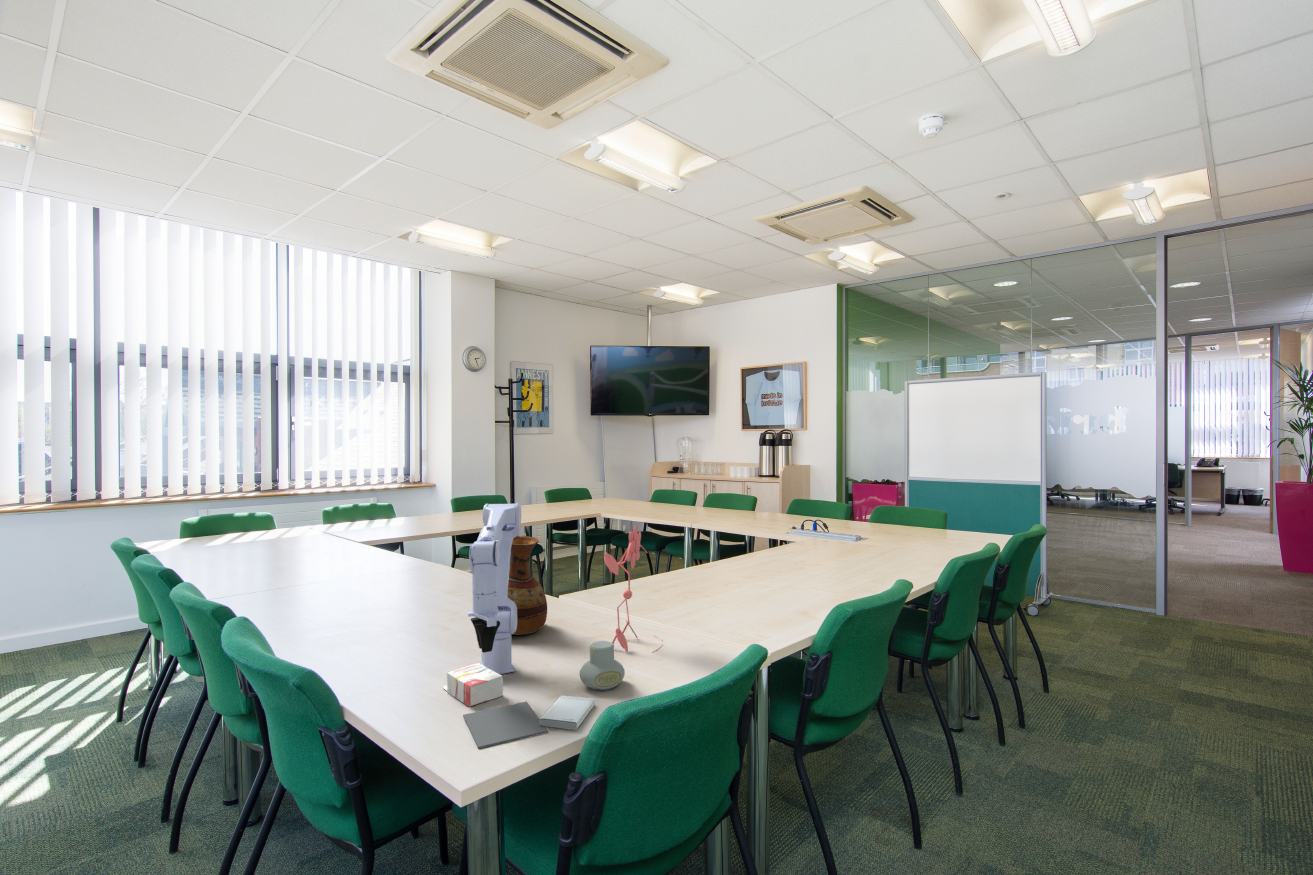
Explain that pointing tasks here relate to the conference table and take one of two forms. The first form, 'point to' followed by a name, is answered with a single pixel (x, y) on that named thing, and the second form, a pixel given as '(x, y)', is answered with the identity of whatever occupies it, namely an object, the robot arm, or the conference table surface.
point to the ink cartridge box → (474, 684)
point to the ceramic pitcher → (525, 588)
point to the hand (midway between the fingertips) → (485, 649)
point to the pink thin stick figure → (613, 567)
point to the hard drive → (567, 712)
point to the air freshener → (602, 667)
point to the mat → (503, 724)
